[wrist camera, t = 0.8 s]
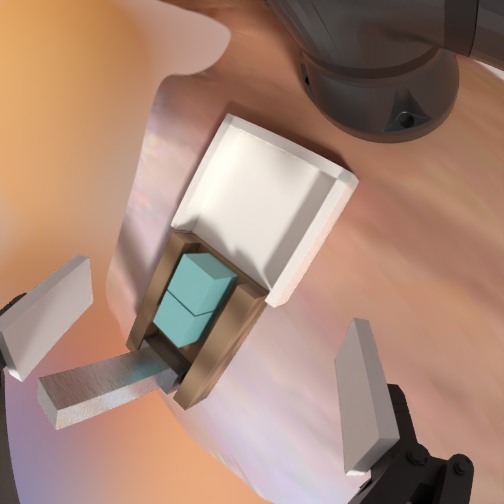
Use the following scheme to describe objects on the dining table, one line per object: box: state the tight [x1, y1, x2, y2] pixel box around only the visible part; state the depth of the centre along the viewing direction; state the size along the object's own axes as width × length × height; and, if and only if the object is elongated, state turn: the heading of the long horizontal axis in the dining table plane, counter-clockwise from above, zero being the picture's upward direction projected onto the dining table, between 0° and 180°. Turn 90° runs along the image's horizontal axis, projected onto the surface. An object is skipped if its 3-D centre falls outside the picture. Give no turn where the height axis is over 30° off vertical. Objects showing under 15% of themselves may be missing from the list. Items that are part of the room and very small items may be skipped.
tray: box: [171, 113, 359, 308], centre depth 29 cm, size 13×14×3 cm
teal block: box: [153, 290, 219, 348], centre depth 31 cm, size 4×4×4 cm
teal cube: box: [168, 253, 238, 315], centre depth 29 cm, size 4×4×4 cm
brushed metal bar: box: [37, 334, 192, 430], centre depth 27 cm, size 4×6×17 cm, turn 58°
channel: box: [126, 232, 270, 410], centre depth 32 cm, size 16×11×4 cm
